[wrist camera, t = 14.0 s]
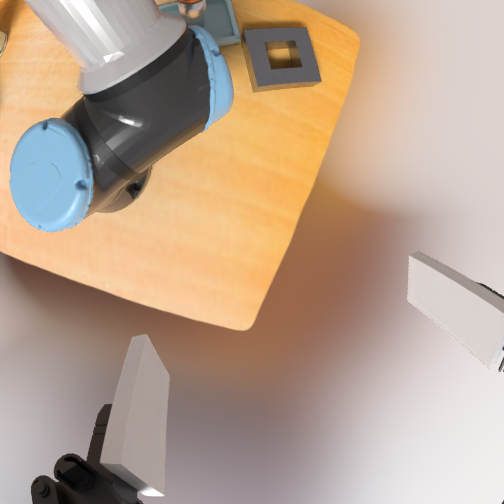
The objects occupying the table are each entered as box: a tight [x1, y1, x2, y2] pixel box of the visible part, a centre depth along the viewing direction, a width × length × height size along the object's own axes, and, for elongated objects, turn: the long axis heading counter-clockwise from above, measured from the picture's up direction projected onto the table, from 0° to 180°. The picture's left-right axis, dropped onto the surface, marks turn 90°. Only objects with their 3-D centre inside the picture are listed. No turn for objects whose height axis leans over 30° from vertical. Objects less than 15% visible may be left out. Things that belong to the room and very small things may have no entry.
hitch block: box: [241, 28, 322, 93], centre depth 37 cm, size 11×11×4 cm
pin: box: [177, 0, 206, 28], centre depth 28 cm, size 5×5×13 cm
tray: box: [158, 0, 241, 47], centre depth 33 cm, size 14×11×2 cm
